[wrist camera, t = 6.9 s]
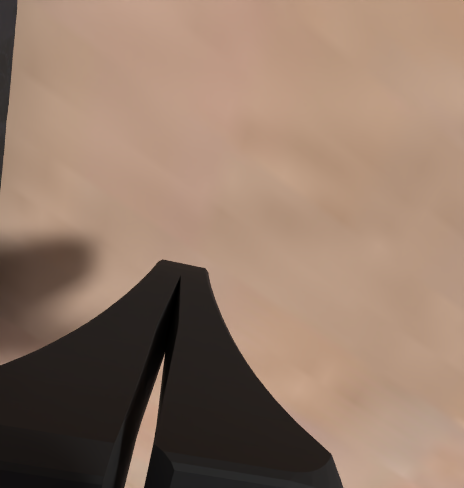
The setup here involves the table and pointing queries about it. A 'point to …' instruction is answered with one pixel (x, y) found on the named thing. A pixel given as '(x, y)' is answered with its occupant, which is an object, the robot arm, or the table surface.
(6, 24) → the box
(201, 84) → the table surface
